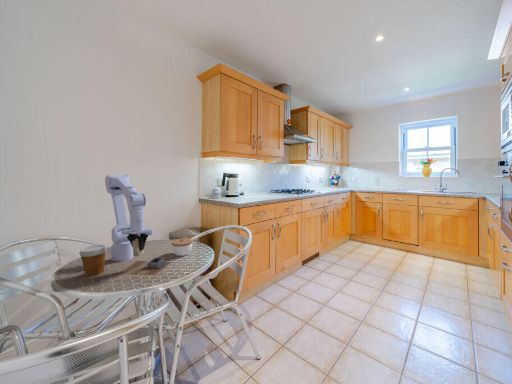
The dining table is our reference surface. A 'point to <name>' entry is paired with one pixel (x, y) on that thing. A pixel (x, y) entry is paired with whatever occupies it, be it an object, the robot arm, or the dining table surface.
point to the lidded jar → (182, 246)
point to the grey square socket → (155, 263)
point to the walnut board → (141, 269)
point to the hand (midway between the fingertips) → (138, 249)
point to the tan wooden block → (137, 248)
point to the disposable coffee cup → (93, 259)
